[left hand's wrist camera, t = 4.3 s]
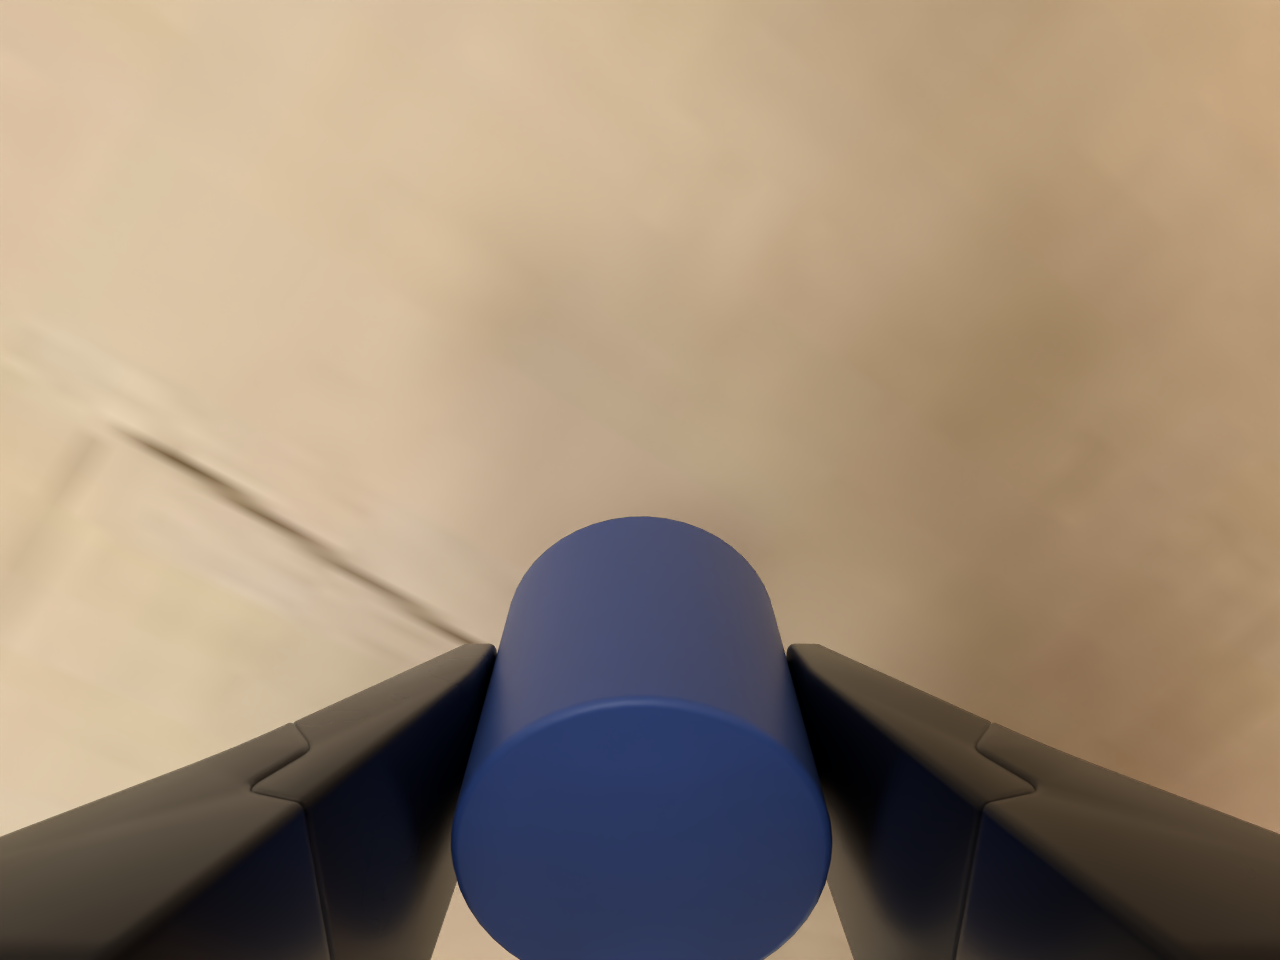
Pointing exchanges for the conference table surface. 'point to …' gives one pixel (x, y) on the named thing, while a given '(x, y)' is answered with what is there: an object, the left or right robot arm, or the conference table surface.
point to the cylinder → (641, 759)
